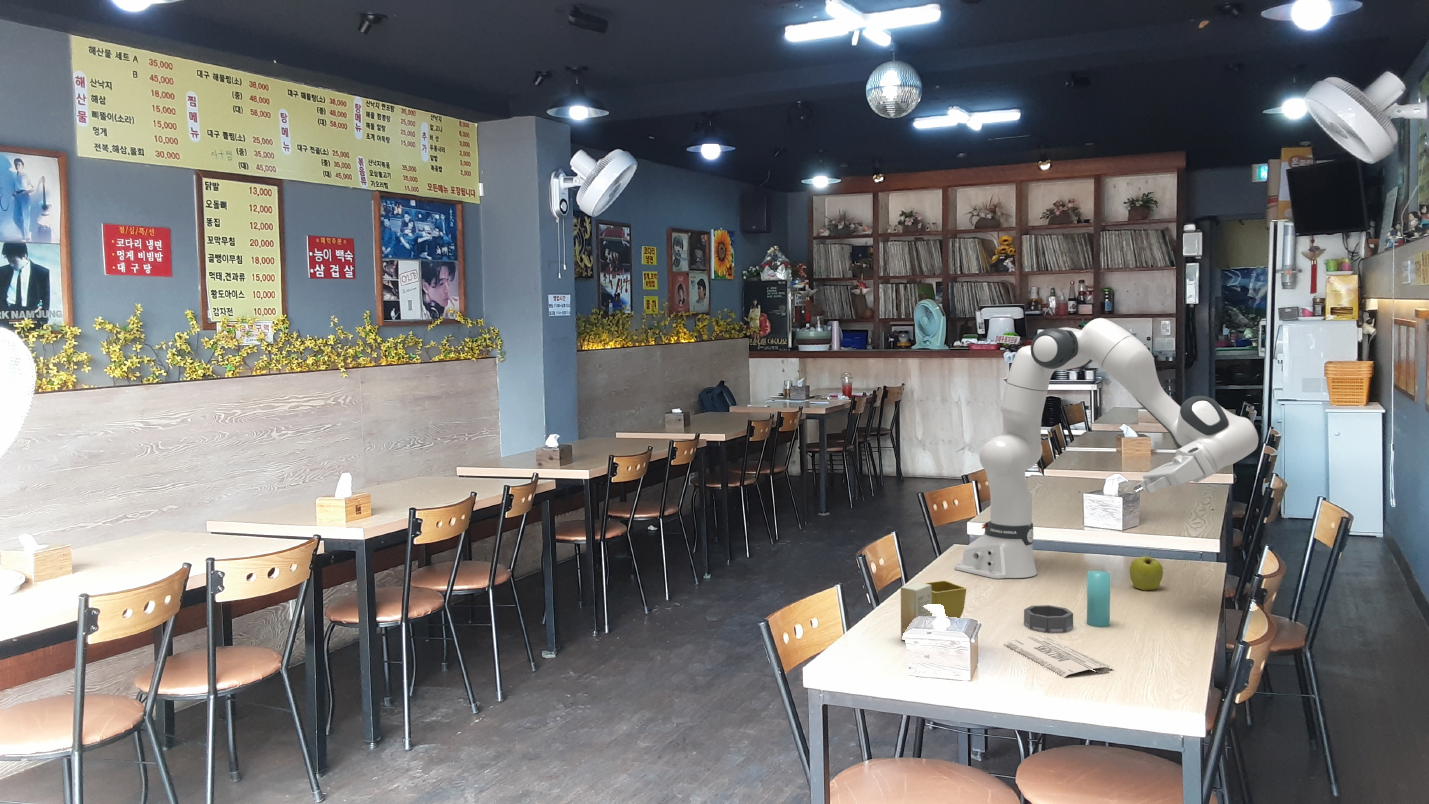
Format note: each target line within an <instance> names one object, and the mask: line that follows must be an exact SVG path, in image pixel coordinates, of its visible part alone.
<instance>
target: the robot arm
mask: <svg viewBox="0 0 1429 804" xmlns="http://www.w3.org/2000/svg"><path fill="white" fill-rule="evenodd" d="M1092 362H1094V363H1095V364H1096V365H1098V366H1099V367H1100V368H1101V369H1103V370H1104V371H1105V372H1106V373H1107V374H1108V375H1110V376H1111V377H1112V378H1113V379H1114V380H1116V381H1117V382H1118V383H1119V384H1120V385H1121V386H1122V387H1123V388H1124V389H1125V390H1126V391H1127V392H1128V393H1129V394H1130V395H1131V396H1132V397H1133V398H1134V399H1135V400H1136V402H1137V403H1139V404H1140V405H1141V406H1142V408H1143V409H1144V410H1146V412H1148V413H1149V414H1150V415H1151V416H1152V417H1153V418H1154V419H1155V420H1156V421H1157V422H1158V423H1159V424H1160V425H1162V427H1163V428H1164V429H1166V431H1167V433H1168V434H1169V435H1170V437H1171V438H1172V441H1173V443H1174V445H1175V447H1176V448H1177V449H1175V456H1174V457H1173V458H1172V459H1171V461H1170V462H1166V463H1164V464H1162V465H1160V466H1158V467H1157V468H1156V467H1155V468H1154V469H1152V470H1150V471H1148V472H1146V473H1145V474H1143V475H1142V478H1143V480H1141V481H1140V482H1139V483H1137V484H1136V485H1134V486H1132V490H1133V493H1135V494H1140V493H1142V492H1144V491H1145V490H1146V491H1147V493H1149V494H1151V493H1152V494H1153V493H1154V492H1156V491H1158V490H1161V489H1163V488H1168V487H1169V488H1170V487H1180V486H1183V485H1186V484H1189V483H1190V482H1194V483H1197V484H1198V483H1199V482H1201V481H1203V480H1205V479H1207V478H1209V477H1211V476H1213V475H1215V474H1216V473H1218V472H1219V471H1220V470H1221V469H1223V468H1225V467H1227V466H1231V465H1233V464H1235V463H1237V462H1239V461H1240V460H1243V459H1244V458H1245V457H1247V456H1249V455H1251V453H1253V452H1254V451H1256V450H1257V448H1258V444H1259V441H1260V440H1259V438H1260V437H1259V433H1258V430H1257V428H1256V426H1255V425H1254V423H1253V422H1252V421H1251V420H1250V419H1249V418H1247V417H1245V416H1238V415H1237V414H1234V413H1233V412H1230V411H1229V410H1227V409H1225V408H1224V407H1222V406H1221V404H1219V403H1218V402H1217V401H1216V399H1214V398H1211V397H1209V396H1205V395H1195V396H1191V397H1189V398H1187V399H1186V400H1184V401H1183V402H1182V404H1181V405H1179V404H1178V403H1177V402H1176V401H1175V400H1174V399H1173V398H1172V397H1171V396H1170V395H1168V394H1167V392H1166V391H1165V390H1164V388H1163V387H1162V385H1161V383H1160V380H1159V378H1158V374H1157V369H1156V365H1155V359H1154V356H1153V354H1152V353H1151V351H1150V350H1149V348H1148V347H1147V346H1146V345H1145V344H1144V343H1143V342H1142V341H1140V340H1139V338H1137V337H1135V336H1134V335H1133V334H1132V333H1131V332H1130V331H1128V330H1126V329H1125V328H1123V327H1121V326H1120V325H1119V324H1116V323H1114V322H1113V321H1111V320H1109V319H1106V318H1103V317H1099V318H1098V317H1097V318H1094V319H1093V320H1090V321H1088V323H1086V325H1084V326H1083V328H1075V327H1073V328H1072V327H1067V326H1065V327H1059V328H1046V329H1044V330H1042V331H1040V332H1038V333H1037V334H1036V335H1035V336H1034V337H1033V338H1032V341H1031V344H1030V345H1026V346H1022V347H1020V348H1019V349H1018V350H1017V351H1016V354H1015V356H1014V358H1013V361H1012V363H1011V365H1010V368H1009V372H1008V375H1007V379H1006V382H1005V383H1006V384H1005V387H1004V388H1005V389H1004V393H1003V396H1002V400H1001V405H1000V412H1001V414H1002V432H1001V435H996V436H994V437H992V438H990V439H989V440H987V442H985V444H983V446H982V447H981V449H980V451H979V462H980V464H981V465H980V466H981V467H982V468H983V469H984V471H985V474H986V478H987V485H988V488H989V496H990V520H989V521H986V522H985V523H983V524H981V526H982V527H981V529H984V533H983V534H982V535H980V536H979V537H978V538H976V539H975V540H973V541H972V542H970V543H969V544H968V545H966V547H965V548H964V551H963V552H964V553H963V555H962V560H960V561H958V562H956V563H955V564H954V570H957V571H960V572H961V571H962V572H965V573H969V574H975V575H979V576H982V577H987V578H990V579H998V580H999V579H1022V578H1031V577H1034V576H1036V575H1038V571H1037V567H1036V564H1035V563H1036V562H1035V558H1034V550H1033V543H1034V522H1032V519H1033V518H1032V517H1033V516H1032V515H1033V514H1032V512H1033V508H1032V506H1033V503H1032V502H1033V496H1032V493H1031V492H1030V489H1029V487H1028V484H1027V479H1026V470H1030V469H1031V468H1033V467H1034V466H1035V465H1036V464H1037V463H1039V460H1041V458H1042V455H1043V444H1042V442H1041V438H1042V435H1041V434H1042V419H1043V413H1044V408H1045V404H1046V401H1047V394H1048V391H1049V387H1050V386H1049V385H1050V382H1051V378H1052V375H1053V374H1054V372H1056V371H1057V370H1059V371H1060V370H1061V371H1062V370H1065V371H1066V370H1071V369H1080V368H1083V367H1086V366H1088V365H1090V364H1091V363H1092Z"/></svg>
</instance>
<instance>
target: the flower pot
mask: <svg viewBox="0 0 1429 804" xmlns="http://www.w3.org/2000/svg"><path fill="white" fill-rule="evenodd" d="M923 583H924V584H929V585H931V587H932V588H931V590H932V604H941V605H943V606H944V609H945V614H946V616H948V617H957V618H960V619H961V616H962V614H963V612H964V609H965V605H966V604H965V603H966V594H967V587H965V586H961V585H958V584H956V583H952V582H950V581H948V580H937V581H932V582H923Z"/></svg>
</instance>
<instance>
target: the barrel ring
mask: <svg viewBox="0 0 1429 804" xmlns="http://www.w3.org/2000/svg"><path fill="white" fill-rule="evenodd" d="M1024 624H1025V625H1024ZM1023 625H1024V626H1025V627H1026V628H1027V627H1028V628H1027V629H1029V628H1030V629H1032V630H1031V631H1035V630H1036V632H1039V631H1042V632H1041V633H1046V632H1052V633H1051V634H1061V633H1068V632H1069V631H1072V630H1073V629H1074V612H1072V611H1071V610H1069V609H1068V608H1066V607H1063V606H1062V607H1060V606H1055V605H1048V604H1046V605H1045V604H1044V605H1030V606H1029V607H1026V608H1025V609H1024V610H1023ZM1072 628H1073V629H1072ZM1030 629H1029V630H1030ZM1067 631H1068V632H1067ZM1053 632H1054V633H1053Z"/></svg>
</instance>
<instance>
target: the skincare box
mask: <svg viewBox="0 0 1429 804" xmlns="http://www.w3.org/2000/svg"><path fill="white" fill-rule="evenodd" d="M924 583H925V582H919V581H914V582H911V583H908V584H905V585H902V586H901V587H900V639H901V638H902V636H903V633H904V632H905V630H906V629H907V627H908V626H909V624H910V623H911V622H912V620H913V619H914V618H916V617H918V616H932V613H930V611H928V610H927V609H925V608H924V607H923V606H924V605H927V604H932V590H931V588H932V587H931V585H929V584H924Z"/></svg>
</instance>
